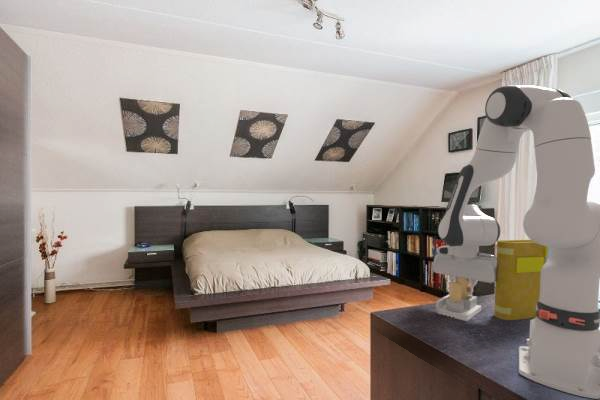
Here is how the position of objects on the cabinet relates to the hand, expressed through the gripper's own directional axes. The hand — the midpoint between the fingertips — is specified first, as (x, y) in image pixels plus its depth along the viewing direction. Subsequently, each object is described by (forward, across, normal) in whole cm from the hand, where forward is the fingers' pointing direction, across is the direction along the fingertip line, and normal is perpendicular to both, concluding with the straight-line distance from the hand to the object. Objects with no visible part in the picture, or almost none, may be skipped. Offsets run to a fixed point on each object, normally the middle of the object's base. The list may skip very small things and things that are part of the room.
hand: (462, 290), depth 122 cm
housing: (+7, 0, +4) cm, 7 cm away
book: (+7, -15, -8) cm, 18 cm away
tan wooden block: (+4, 0, 0) cm, 4 cm away
